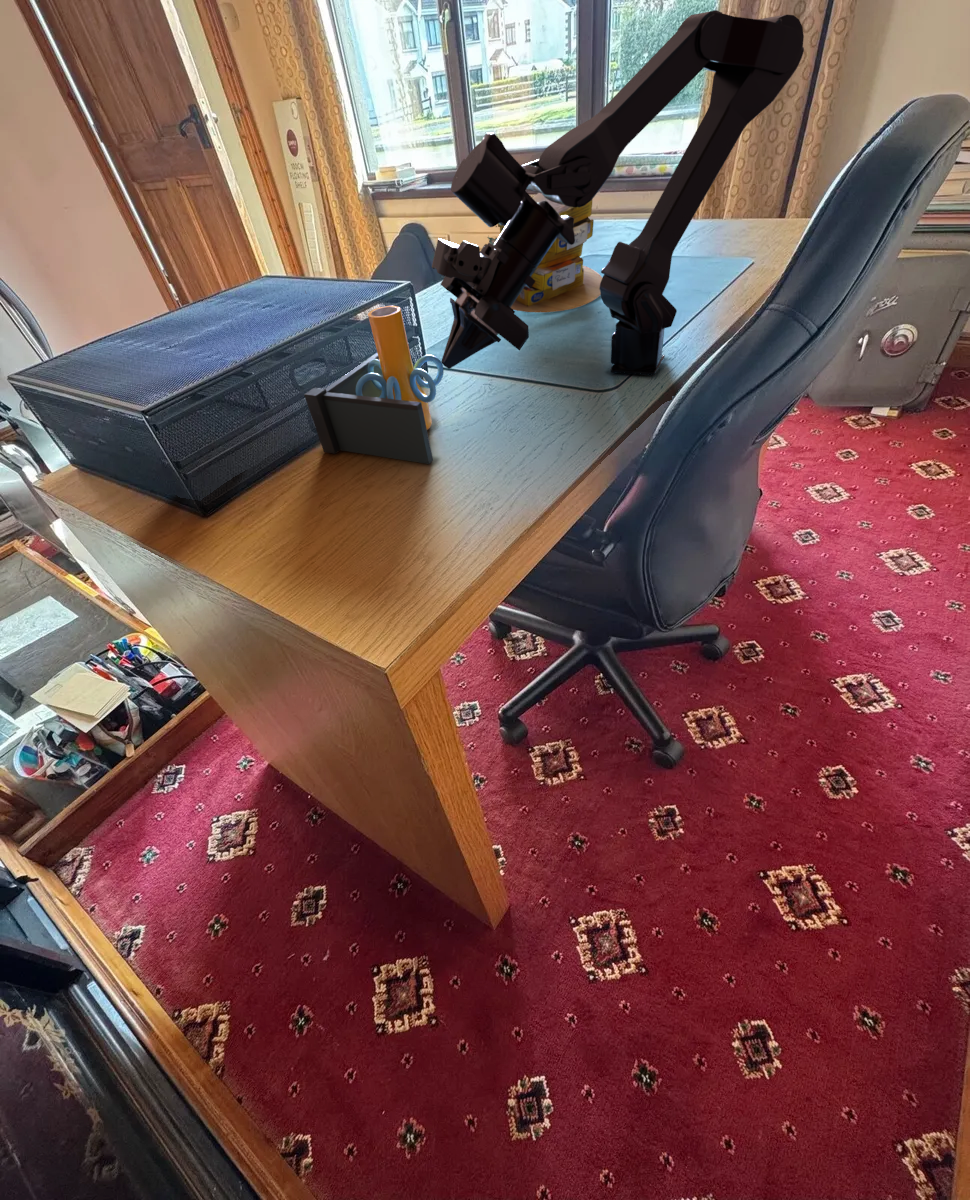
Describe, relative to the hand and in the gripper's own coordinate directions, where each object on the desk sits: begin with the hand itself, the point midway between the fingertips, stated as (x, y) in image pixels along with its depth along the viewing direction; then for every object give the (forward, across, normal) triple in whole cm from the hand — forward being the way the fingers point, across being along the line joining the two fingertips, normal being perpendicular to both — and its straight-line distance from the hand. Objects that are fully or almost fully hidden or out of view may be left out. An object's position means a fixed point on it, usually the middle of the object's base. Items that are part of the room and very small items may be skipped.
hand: (445, 365), depth 74 cm
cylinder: (+9, 0, +1) cm, 9 cm away
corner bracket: (+10, 0, 0) cm, 10 cm away
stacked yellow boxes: (-17, -42, +27) cm, 53 cm away
